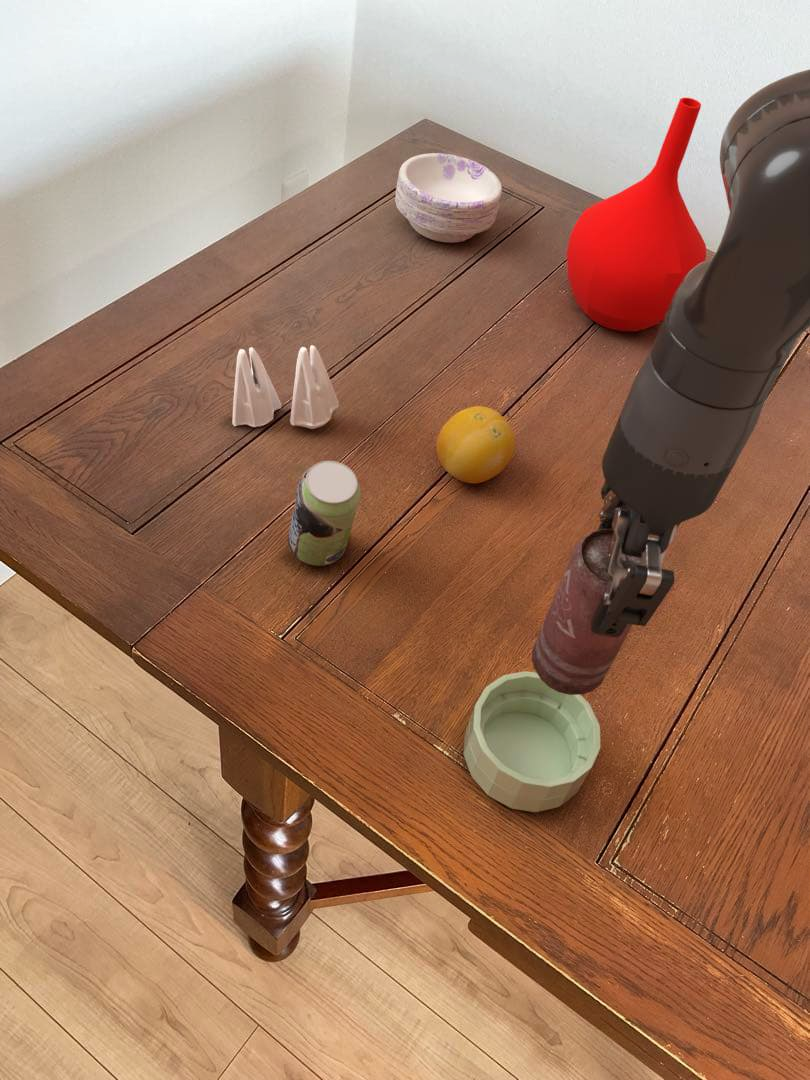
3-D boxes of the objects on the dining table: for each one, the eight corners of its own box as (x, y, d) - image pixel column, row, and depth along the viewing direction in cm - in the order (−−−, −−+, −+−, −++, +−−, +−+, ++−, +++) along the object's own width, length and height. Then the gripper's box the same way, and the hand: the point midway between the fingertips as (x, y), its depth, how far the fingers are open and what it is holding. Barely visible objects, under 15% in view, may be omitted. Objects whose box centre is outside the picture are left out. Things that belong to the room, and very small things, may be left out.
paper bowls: (485, 203, 151) (496, 155, 145) (497, 259, 142) (509, 210, 136) (389, 194, 149) (396, 145, 143) (394, 250, 139) (402, 200, 133)
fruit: (476, 508, 108) (490, 456, 102) (419, 471, 111) (430, 419, 105) (518, 468, 113) (534, 417, 107) (462, 434, 116) (475, 382, 110)
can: (573, 714, 76) (628, 607, 65) (514, 659, 78) (559, 548, 68) (621, 674, 79) (681, 566, 68) (563, 623, 81) (613, 511, 71)
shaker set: (337, 414, 115) (346, 339, 107) (335, 438, 112) (344, 363, 104) (236, 402, 114) (236, 326, 106) (231, 426, 111) (231, 350, 103)
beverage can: (325, 518, 104) (334, 437, 95) (363, 564, 101) (377, 484, 92) (274, 540, 101) (279, 458, 92) (312, 588, 98) (321, 508, 89)
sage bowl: (581, 713, 92) (598, 682, 88) (584, 823, 85) (602, 795, 81) (466, 694, 92) (477, 662, 88) (458, 803, 84) (470, 774, 80)
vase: (539, 326, 132) (602, 112, 110) (566, 259, 144) (628, 54, 122) (669, 367, 130) (760, 157, 108) (686, 295, 142) (771, 93, 120)
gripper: (759, 524, 54) (659, 684, 67) (728, 364, 64) (646, 531, 76) (628, 501, 54) (552, 667, 67) (616, 344, 64) (552, 515, 76)
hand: (602, 594), depth 71 cm, fingers closed on can, 6 cm apart
